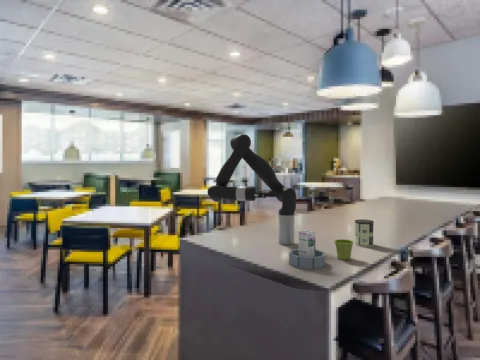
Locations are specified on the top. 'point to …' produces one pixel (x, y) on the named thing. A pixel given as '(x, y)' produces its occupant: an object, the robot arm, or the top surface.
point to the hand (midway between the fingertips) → (277, 193)
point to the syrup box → (307, 243)
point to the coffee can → (364, 233)
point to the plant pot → (343, 248)
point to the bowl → (307, 260)
